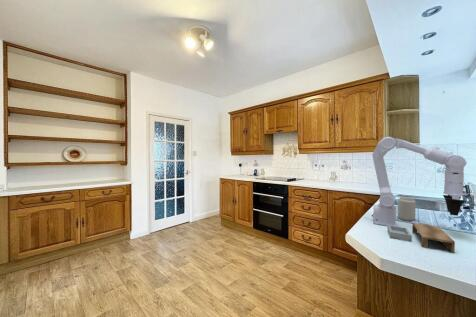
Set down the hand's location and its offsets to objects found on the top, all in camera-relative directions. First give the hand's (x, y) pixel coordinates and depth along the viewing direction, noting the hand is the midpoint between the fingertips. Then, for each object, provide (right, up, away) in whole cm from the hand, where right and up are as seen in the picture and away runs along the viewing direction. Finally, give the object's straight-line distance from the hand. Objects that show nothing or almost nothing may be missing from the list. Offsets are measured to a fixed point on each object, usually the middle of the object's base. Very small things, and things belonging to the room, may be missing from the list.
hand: (452, 213), depth 89 cm
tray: (-24, -10, -1) cm, 26 cm away
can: (-2, -9, +22) cm, 24 cm away
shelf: (-16, -10, -6) cm, 20 cm away
